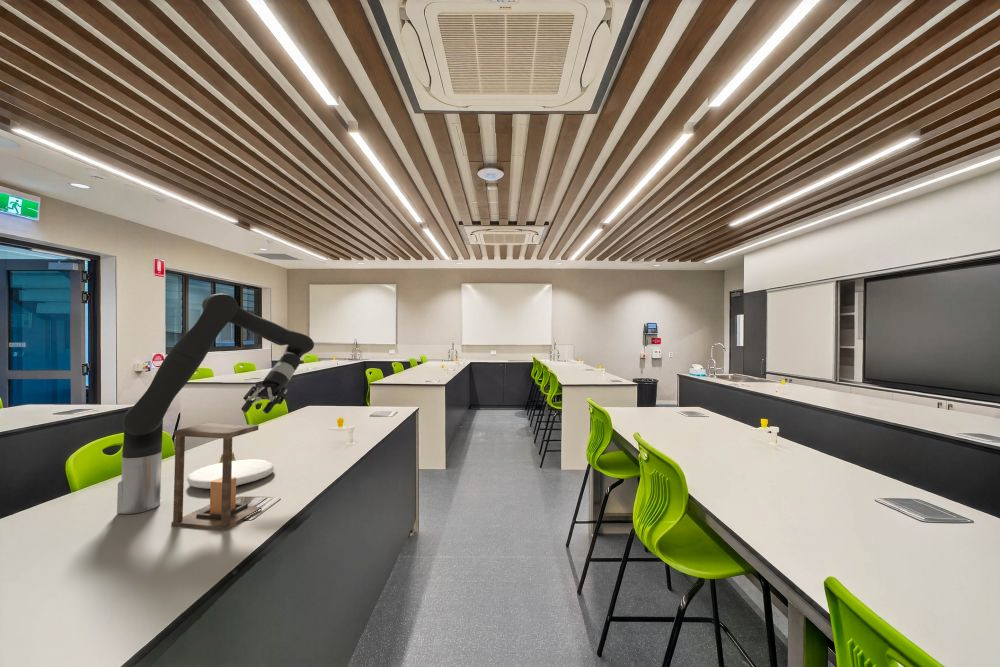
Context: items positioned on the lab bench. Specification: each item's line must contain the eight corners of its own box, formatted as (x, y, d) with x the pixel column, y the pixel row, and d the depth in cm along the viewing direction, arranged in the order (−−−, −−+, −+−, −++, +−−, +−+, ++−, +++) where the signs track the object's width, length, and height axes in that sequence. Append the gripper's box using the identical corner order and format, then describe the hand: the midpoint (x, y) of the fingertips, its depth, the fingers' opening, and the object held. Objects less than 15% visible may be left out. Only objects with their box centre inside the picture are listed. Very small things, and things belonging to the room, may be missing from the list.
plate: (226, 456, 160) (288, 457, 159) (225, 472, 159) (287, 473, 158) (168, 471, 132) (242, 473, 132) (165, 491, 131) (240, 493, 131)
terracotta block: (223, 508, 118) (223, 476, 119) (235, 509, 118) (236, 477, 118) (209, 514, 114) (210, 481, 114) (222, 516, 113) (223, 482, 113)
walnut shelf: (212, 506, 122) (214, 421, 123) (261, 510, 119) (263, 423, 120) (171, 525, 109) (174, 430, 110) (225, 530, 106) (228, 433, 107)
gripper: (257, 369, 142) (230, 404, 131) (291, 370, 140) (266, 406, 128) (267, 382, 147) (242, 417, 136) (300, 383, 145) (277, 418, 133)
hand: (254, 411), depth 132 cm, fingers open, 8 cm apart
